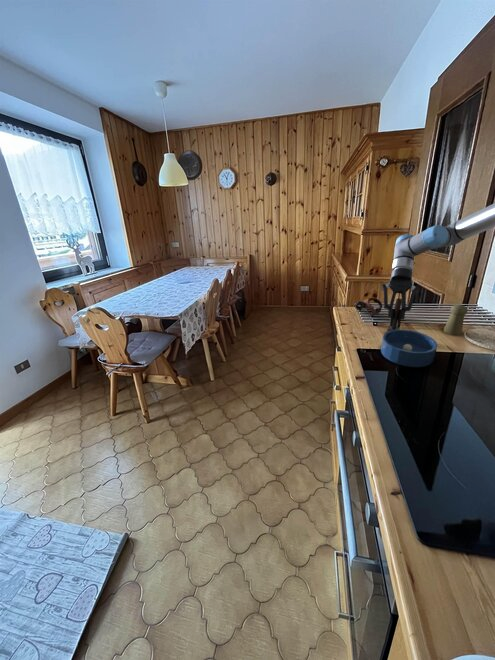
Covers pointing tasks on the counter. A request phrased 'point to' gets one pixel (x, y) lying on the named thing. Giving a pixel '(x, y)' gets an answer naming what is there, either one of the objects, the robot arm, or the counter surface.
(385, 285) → the robot arm
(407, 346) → the dumpling
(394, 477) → the counter surface
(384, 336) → the bowl
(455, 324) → the olive green waisted cylinder
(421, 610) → the counter surface
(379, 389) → the counter surface
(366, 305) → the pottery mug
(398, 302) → the brown wooden pestle
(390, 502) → the counter surface
